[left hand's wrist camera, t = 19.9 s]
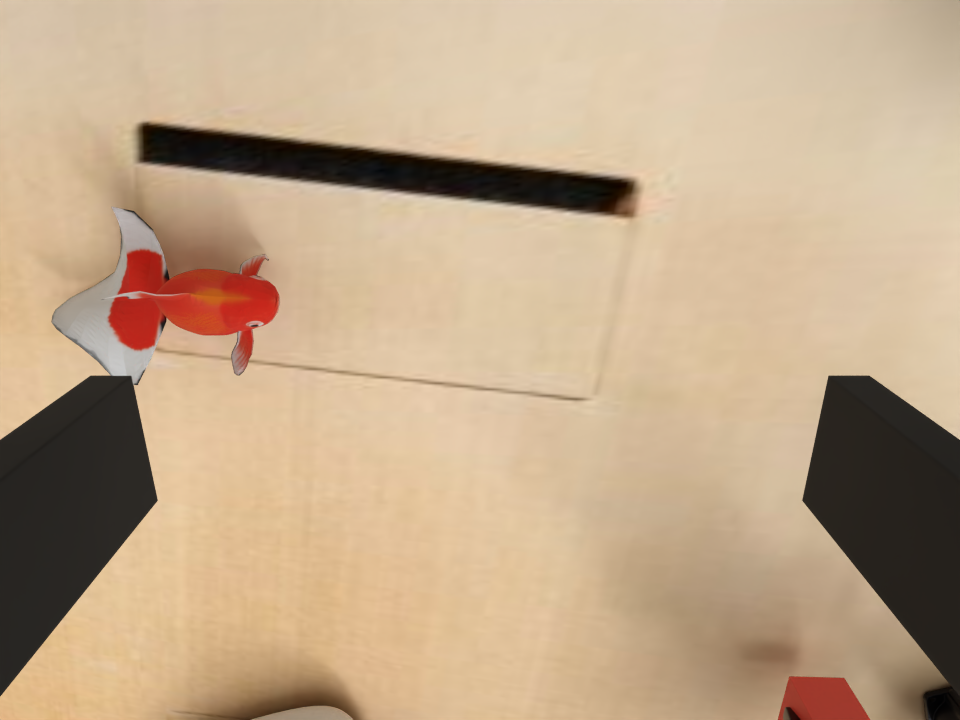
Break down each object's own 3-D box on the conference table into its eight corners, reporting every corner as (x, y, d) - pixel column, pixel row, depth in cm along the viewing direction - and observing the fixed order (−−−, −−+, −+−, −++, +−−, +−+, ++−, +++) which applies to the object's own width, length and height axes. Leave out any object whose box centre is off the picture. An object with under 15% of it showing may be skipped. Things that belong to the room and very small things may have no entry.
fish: (283, 431, 44) (167, 435, 35) (118, 357, 49) (-22, 344, 40) (334, 277, 44) (231, 239, 34) (162, 220, 49) (31, 173, 39)
